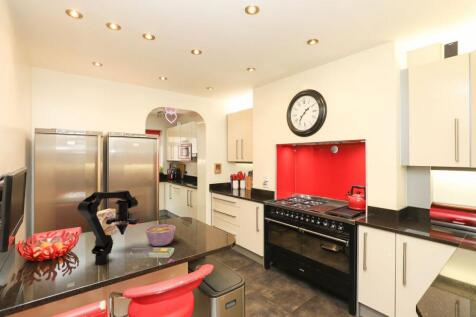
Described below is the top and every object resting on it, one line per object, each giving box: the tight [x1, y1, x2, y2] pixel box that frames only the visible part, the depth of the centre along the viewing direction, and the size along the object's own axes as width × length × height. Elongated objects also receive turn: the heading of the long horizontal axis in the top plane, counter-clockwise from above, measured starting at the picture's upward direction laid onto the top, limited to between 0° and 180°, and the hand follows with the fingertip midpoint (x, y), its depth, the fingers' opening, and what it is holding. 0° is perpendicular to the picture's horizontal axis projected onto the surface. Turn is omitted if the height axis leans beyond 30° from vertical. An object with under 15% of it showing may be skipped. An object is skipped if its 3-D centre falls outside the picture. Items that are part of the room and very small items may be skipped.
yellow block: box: [160, 247, 169, 253], centre depth 142 cm, size 4×4×3 cm
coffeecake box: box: [93, 208, 117, 239], centre depth 179 cm, size 15×7×20 cm, turn 171°
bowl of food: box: [145, 223, 176, 247], centre depth 161 cm, size 20×20×12 cm
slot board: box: [124, 247, 155, 259], centre depth 142 cm, size 11×14×2 cm
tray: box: [148, 247, 175, 259], centre depth 142 cm, size 9×13×3 cm
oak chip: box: [153, 247, 161, 253], centre depth 142 cm, size 4×4×3 cm
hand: (122, 234), depth 145 cm, fingers closed
